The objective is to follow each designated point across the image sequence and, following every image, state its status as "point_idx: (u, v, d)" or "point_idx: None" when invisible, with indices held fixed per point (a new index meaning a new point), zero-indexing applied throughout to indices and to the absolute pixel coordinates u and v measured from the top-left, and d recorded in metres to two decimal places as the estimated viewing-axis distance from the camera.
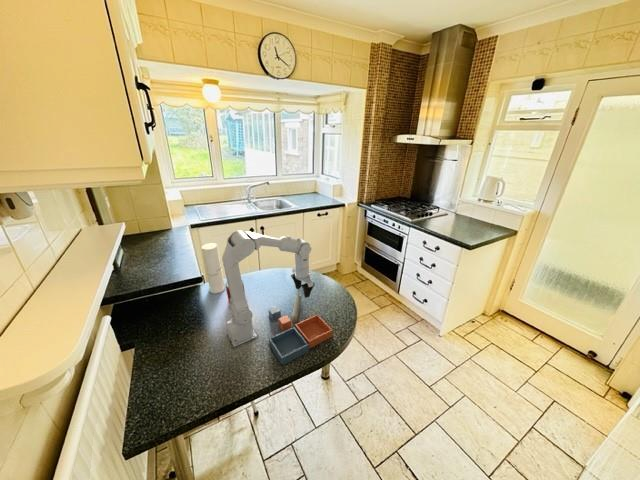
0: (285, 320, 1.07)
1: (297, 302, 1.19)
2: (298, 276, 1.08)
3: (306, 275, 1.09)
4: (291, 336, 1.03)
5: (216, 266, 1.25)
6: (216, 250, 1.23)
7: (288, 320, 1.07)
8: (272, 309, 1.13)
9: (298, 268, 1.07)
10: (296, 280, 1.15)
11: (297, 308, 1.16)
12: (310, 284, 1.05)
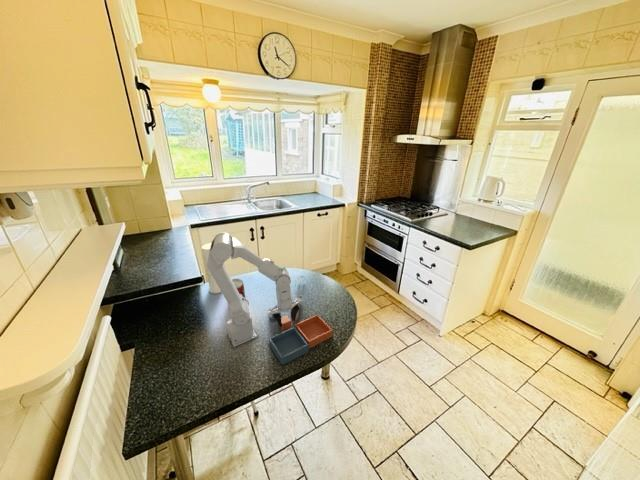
0: (285, 320, 1.07)
1: None
2: None
3: (279, 306, 1.02)
4: (291, 336, 1.03)
5: None
6: None
7: (288, 320, 1.07)
8: None
9: (278, 299, 1.01)
10: (291, 309, 1.09)
11: None
12: (268, 313, 1.02)
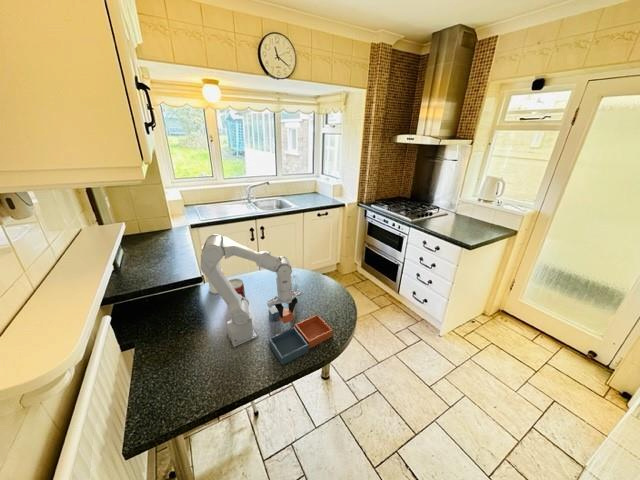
0: (286, 312, 1.05)
1: None
2: None
3: (278, 297, 1.00)
4: (291, 336, 1.03)
5: None
6: None
7: (289, 312, 1.05)
8: (272, 309, 1.13)
9: (278, 289, 0.98)
10: None
11: None
12: (267, 303, 0.99)
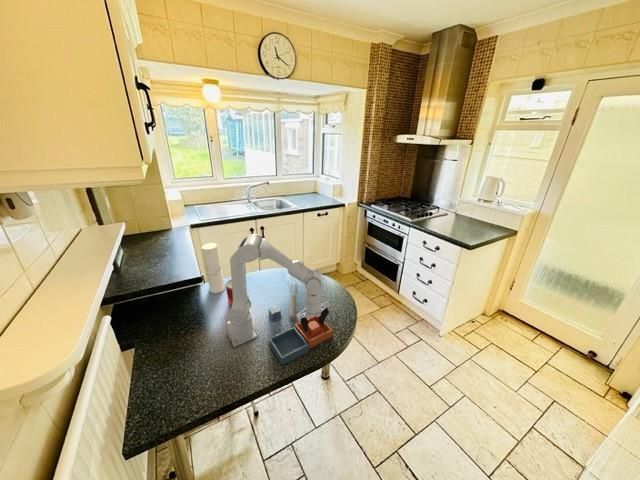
0: (313, 325, 1.04)
1: (291, 302, 1.19)
2: None
3: (307, 310, 0.98)
4: (291, 336, 1.03)
5: (216, 266, 1.25)
6: (216, 250, 1.23)
7: (317, 325, 1.03)
8: (272, 309, 1.13)
9: (306, 301, 0.97)
10: None
11: (292, 307, 1.15)
12: (296, 317, 0.97)
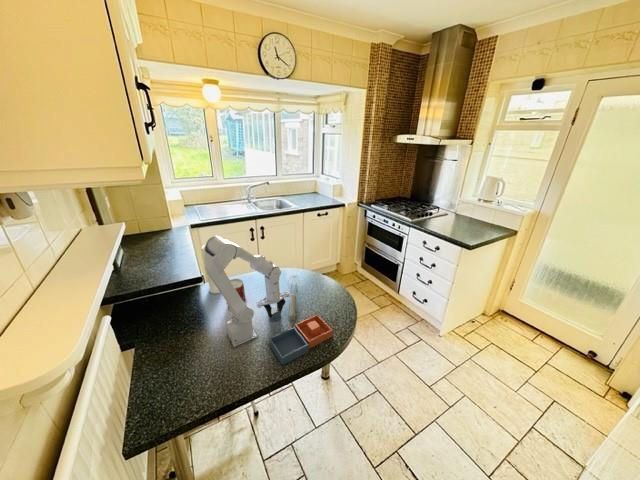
0: (313, 325, 1.04)
1: (291, 302, 1.19)
2: (278, 298, 1.08)
3: None
4: (291, 336, 1.03)
5: None
6: None
7: (317, 325, 1.03)
8: (272, 309, 1.13)
9: (269, 292, 1.06)
10: None
11: (292, 307, 1.15)
12: None
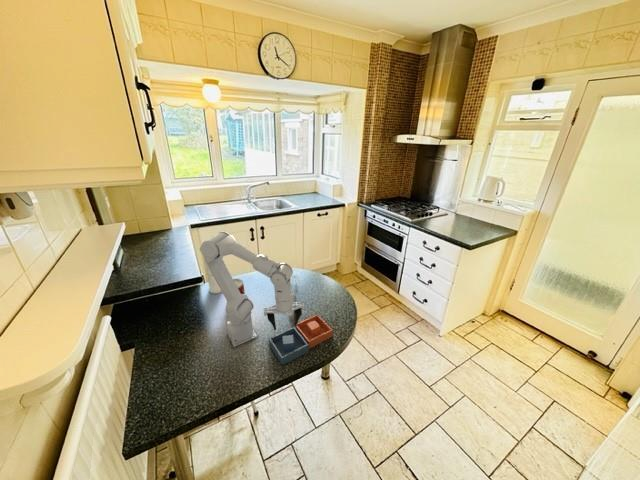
0: (313, 325, 1.04)
1: None
2: (288, 309, 0.90)
3: None
4: None
5: None
6: None
7: (317, 325, 1.03)
8: (286, 338, 0.97)
9: (275, 297, 0.90)
10: (274, 320, 0.93)
11: None
12: (303, 305, 0.94)
